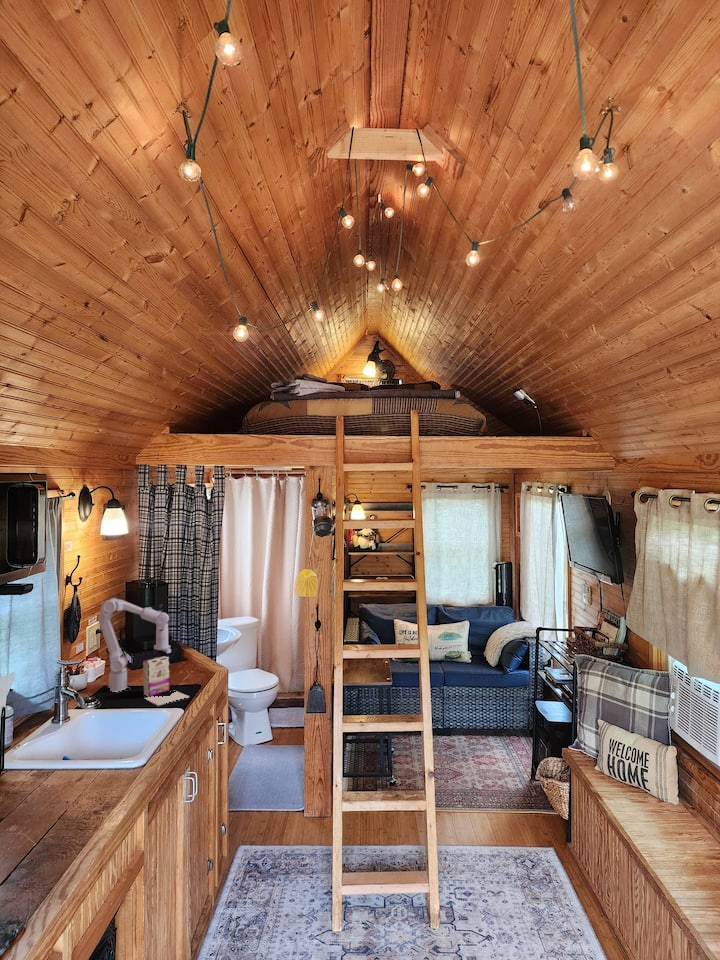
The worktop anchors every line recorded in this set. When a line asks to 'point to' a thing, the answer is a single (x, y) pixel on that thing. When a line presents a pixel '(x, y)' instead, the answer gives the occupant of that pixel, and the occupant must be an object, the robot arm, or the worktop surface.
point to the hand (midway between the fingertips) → (162, 665)
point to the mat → (166, 698)
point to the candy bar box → (156, 676)
